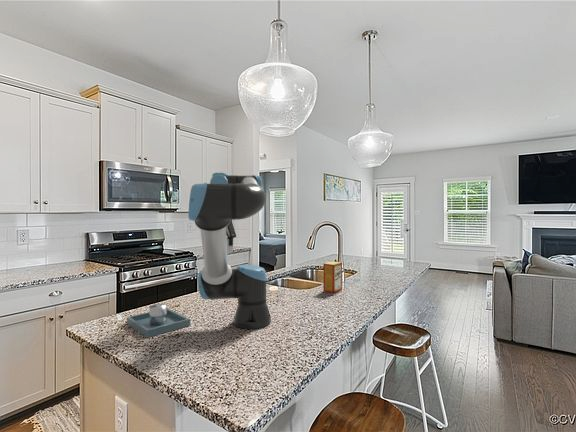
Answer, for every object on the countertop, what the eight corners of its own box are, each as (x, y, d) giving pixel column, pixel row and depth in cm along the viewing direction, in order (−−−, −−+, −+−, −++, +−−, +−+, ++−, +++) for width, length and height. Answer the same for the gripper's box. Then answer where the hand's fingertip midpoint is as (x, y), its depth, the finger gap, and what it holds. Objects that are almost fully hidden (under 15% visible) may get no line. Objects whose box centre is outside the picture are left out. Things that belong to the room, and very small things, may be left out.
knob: (169, 322, 131) (168, 305, 131) (153, 326, 127) (152, 308, 127) (163, 319, 136) (162, 302, 136) (147, 322, 132) (147, 305, 132)
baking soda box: (332, 287, 189) (332, 260, 189) (342, 289, 185) (341, 261, 185) (323, 291, 182) (323, 263, 181) (333, 293, 178) (333, 264, 177)
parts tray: (190, 325, 130) (190, 319, 130) (147, 337, 118) (147, 330, 118) (166, 313, 145) (166, 307, 145) (126, 323, 133) (126, 317, 133)
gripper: (243, 206, 145) (244, 253, 145) (213, 206, 162) (213, 248, 163) (229, 206, 139) (230, 255, 140) (199, 206, 157) (200, 250, 157)
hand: (221, 251), depth 151 cm, fingers open, 13 cm apart
